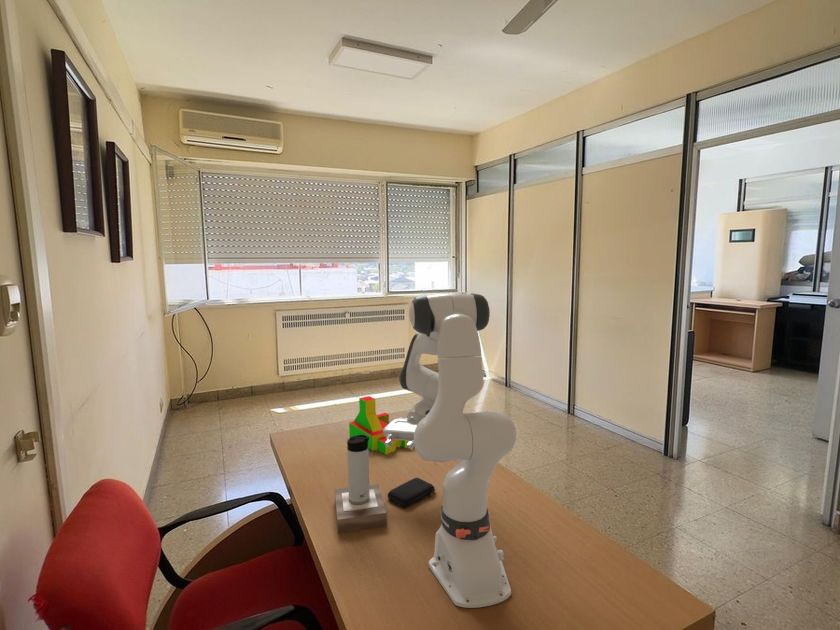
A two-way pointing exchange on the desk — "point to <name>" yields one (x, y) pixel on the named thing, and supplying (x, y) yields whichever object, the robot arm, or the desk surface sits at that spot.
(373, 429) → the building blocks toy
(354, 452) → the travel mug
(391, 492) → the carrying case or bag
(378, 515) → the walnut riser
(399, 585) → the desk surface
